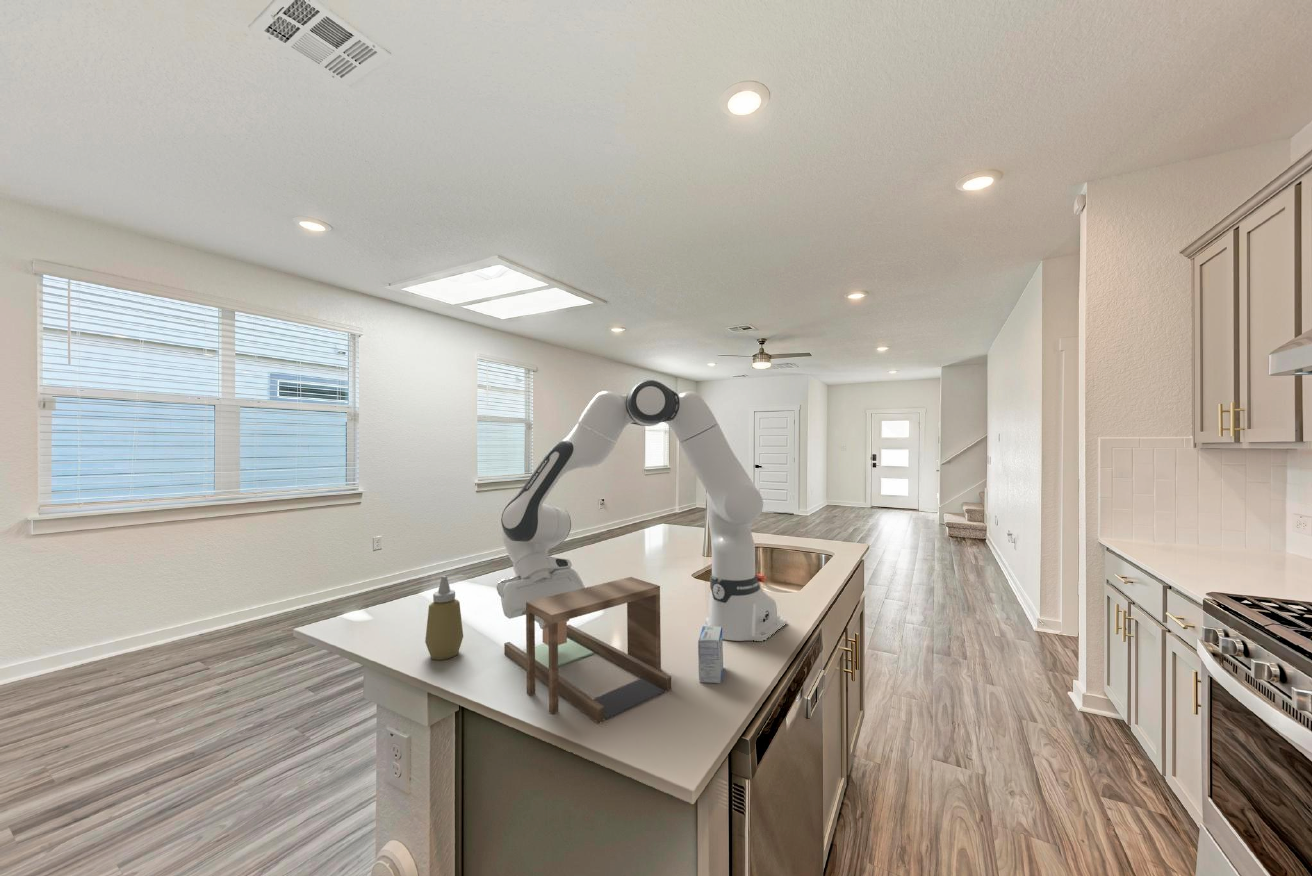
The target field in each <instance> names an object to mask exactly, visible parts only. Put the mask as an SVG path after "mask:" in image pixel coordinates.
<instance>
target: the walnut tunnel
mask: <svg viewBox="0 0 1312 876" xmlns="http://www.w3.org/2000/svg"><path fill="white" fill-rule="evenodd" d="M624 604H626V613H627V615H626V617H627V620H626V622H627V623H626V624H627V625H626V629H627V634H626V635H627V653H626V652H625V651H622V650H620V649H618V648H616V647H614V646H612V645H610V644H608V643H606V642H604V641H602V640H600V639H599V638H597V637H595V636H593V635H591V634H589V633H587V632H585V631H583V630H581V629H580V628H577V627H575V626H573V625H571V624H567V638H568V639H570V640H572V641H574V642H576V643H577V644H579V645H581V646H583V647H585V648H587V649H588V650H590V651H592V652H593V653H596V654H598V655H600V656H602V657H603V658H606V659H607V660H609V661H611V662H613V663H614V664H616V665H618V666H620V667H621V668H624V669H625V670H627V671H629V672H630V673H632V674H634V675H636V676H638V677H640V679H641V678H643V679H645V680H647V681H649V682H650V683H652V684H654V685H656V686H658V687H660V688H661V689H663V690H665V692H669V691H671V690H672V676H671V675H669V674H667V673H665V672H663V671H662V670H661V669H662V657H661V656H662V655H661V654H662V648H661V644H662V643H661V641H662V639H661V638H662V637H661V634H662V633H661V585H658V584H656V583H655V584H654V583H651V582H649V581H645V580H641V579H638V578H635V577H633V576H629V577H624V578H620V579H617V580H612V581H608V582H604V583H601V584H600V583H599V584H595V585H592V586H588V587H585V588H582V589H578V590H574V591H570V592H566V593H561V594H557V595H553V596H549V597H545V598H541V599H536V600H532V601H528V602H526V615H525V626H526V627H525V631H526V633H525V636H526V637H525V641H526V642H525V644H526V646H525V647H526V649H525V650H526V653H525V652H524V651H523V650H522V649H521V648H519V647H518V646H517V645H515V644H513V643H512V642H510V641H508V642H504V646H503V647H504V648H503V650H504V656H506V657H508V658H509V659H510V660H511V661H513V662H514V663H516V664H517V665H518V666H520V667H521V668H522V669H524V670H525V671H526V694H527V695H529V696H532V695H535V694H536V679H537V680H539V681H540V682H542V683H543V684H544V685H545V686H547V687H548V712H549V713H550V712H551V713H550V714H551V715H554V714H557V713H559V696H560V697H562V698H563V699H564V700H566V701H567V702H569V703H570V704H571V705H572V706H574V707H575V706H576V707H575V708H576V709H578V710H580V711H581V712H582V713H583V714H585V715H586V716H588V717H589V718H590V719H592V721H594V722H596V723H597V724H601V723H603V722H605V719H604V706H603V705H601V704H600V703H598V702H597V701H595V700H594V698H592V697H591V696H590V695H588V694H587V693H585V692H584V691H582V690H581V689H579V688H578V687H576V686H575V685H573V684H572V683H571V682H569V681H567V680H566V679H565V678H563V677H562V676H560V675H559V666H558V622H561V621H564V620H568V619H569V620H572V619H576V618H578V617H581V616H586V615H588V614H592V613H596V612H600V611H604V610H606V609H610V608H614V607H617V606H621V605H624ZM535 615H536V616H538V617H539V618H541V619H543V620H545V621H547V622H548V630H549V668H547V667H546V666H544V665H543V664H541V663H540V662H538V661H537V660H535V647H536V638H535V637H536V635H535V634H536V625H535V623H536V621H535ZM600 722H601V723H600Z"/></svg>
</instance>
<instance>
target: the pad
mask: <svg viewBox="0 0 1312 876" xmlns="http://www.w3.org/2000/svg"><path fill="white" fill-rule="evenodd" d="M522 651H524V652H525V653H526V649H524V650H522ZM593 654H594V651H592V650H590V649H589V648H587V647H585V646H583V645H581V644H580V643H578V642H576V641H574V640H572V639H570V638H569V637H567V643H564V644H561V645H558V667H560V666H563V665H566V664H568V663H572V662H575V661H577V660H580V659H583V658H586V657H589V656H591V655H593ZM535 660H537V661H538V662H540V663H541V664H543V665H544V666H546V667H547V668H549V646H548V645H546V644H545V643H543V644H540V645H537V646H536V645H535Z"/></svg>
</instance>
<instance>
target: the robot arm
mask: <svg viewBox="0 0 1312 876" xmlns="http://www.w3.org/2000/svg"><path fill="white" fill-rule="evenodd" d="M660 423H665V424H666V425H668V426H669V427H670V428H671V429H672V431H673V432H674V434H675V436H676V438H677V441H678V442H679V444H680V446H681V448H682V450H683V452H684V454H685V456H686V458H687V461H688V462H689V465H690V466H691V468H692V470H693V471H694V473H695V474H696V477H698V479H699V480H700V482H701V484H702V486H703V488H704V489H705V491H706V495H705V498H706V499H705V500H706V508H707V509H706V511H707V518H708V526H709V534H710V535H709V536H710V544H711V545H710V546H711V573H710V578H709V587H710V590H711V591H710V592H709V597H708V598H709V599H708V600H709V601H708V610H707V616H706V617H705V623H706V626H716V627H722V637H723V640H726V641H736V642H740V641H741V642H742V641H743V642H744V641H753V640H754V641H756V642H764V641H763V640H765V641H766V640H768V639H769V638H770V637H772V636H773V635H774V634H776V633H777V632H778V631H779V630H778V629H779V628H781V627H782V626H784V624H786V623H787V619H785V618H784V617H783V616H781V615H778V609H777V608H778V606H777V603H776V601H775V600H774V598H773V597H771V596H770V595H768V593H766V592H765V591H764V590H763V589H761V586H760V583H762V584H764V583H765V582H766V581H767V576H766V575H765V574H761V573H758V574H756V545H755V541H754V539H753V534H752V529H751V523H753V522H755V521H756V520H757V519H758V518H759V517H760V515H761V514H762V512H763V507H764V501H763V496H762V494H761V493H760V491H759V490H758V488H757V487H756V486H755V484H754V483H753V481H752V479H751V478H750V476H749V475H748V473H747V470H745V468H744V466H743V465H742V463H741V462H740V461H739V459H738V458H737V456H736V454H735V453H734V452H733V449H732V448H731V446H730V444H729V442H728V440H727V438H726V436H725V435H724V432H723V430H722V428H721V427H720V424H719V423H718V421H717V418H716V417H715V415H714V413H713V411H712V410H711V408H710V407H709V405H708V404H707V403H706V401H705V400H704V398H702V396H701V395H700V394H699V393H698V392H696V391H691V390H690V391H689V390H688V391H683V392H680V393H679V394H678V393H677V392H675V391H674V390H672V389H671V388H669V387H668V386H667V385H665V384H664V383H662V382H660V381H658V380H654V379H644V380H641V381H639V382H637V383H636V384H635V385H634V386H633V387H632V388H631V389H630V391H629V392H628V394H623V395H622V394H619V393H617V392H614V391H611V390H602V391H601V390H600V391H599V392H597V394H595V395H594V397H593V398H592V399H591V400H590V402H589V403H588V405H586V407H585V409H584V410H583V412H582V413H581V415H580V417H578V420H577V422H576V424H575V425H574V427H573V429H572V430H571V431H570V432H569V434H567V436H566V437H564V438H563V439H562V440H561V441H558V442H556V444H554V445H553V446H552V447H551V448H550V450H549V451H548V452H547V454H545V456H544V457H543V459H542V460H541V461H540V463H539V464H538V466H537V467H536V469H535V470H534V471H533V472H532V474H531V475H530V477H529V478H528V480H527V481H526V483H525V484H524V486H522V488H521V489H520V491H519V492H518V493H517V494H516V495H515V496H514V497H513V498H512V499H511V501H509V502H508V504H507V505H506V506H505V508H503V509H504V510H503V512H502V514H501V520H500V521H501V522H500V523H501V528H502V531H501V533H502V541H503V543H504V544H503V545H504V548H505V550H506V552H507V553H506V554H507V555H508V558H510V560H511V561H512V567H513V568H512V569H513V571H514V574H515V576H512V577H508V578H502V579H500V581H499V582H498V583H497V584H496V591H497V594H498V595H499V596H500V601H501V607H502V611H503V614H504V616H505V617H506V618H507V619H510V620H511V619H514V618H518V617H521V616H526V602H528V601H532V600H536V599H541V598H545V597H549V596H553V595H557V594H561V593H566V592H570V591H574V590H578V589H582V588H586V587H585V585H584V583H583V581H582V579H581V577H580V575H579V574H578V572H577V571H576V570H575V569H574V568H572V565H573V564H572V561H571V560H570V559H567V558H559V557H554V556H549V554H548V551H549V550H553V549H554V548H555V547H558V546H559V545H560V544H561V543H563V542H564V541H565V540H566V539H567V538H568V536H569V535H570V533H571V529H572V519H571V516H570V514H569V512H568V511H567V510H566V509H565V508H562V507H559V506H555V505H551V504H546V503H544V502H545V501H546V500H547V498H548V497H549V495H550V493H551V491H553V489H554V488H555V486H556V484H557V483H558V482H559V480H560V479H561V478H562V477H563V476H565V475H566V474H567V473H568V472H571V471H574V470H579V469H585V468H593V467H597V466H598V465H601V464H604V462H605V461H606V460H607V458H609V457H610V455H611V453H612V451H613V450H614V448H615V446H616V443H617V442H618V440H619V438H620V436H621V434H622V433H623V430H624V429H625V428H626V427H627V426H628V425H630V424H632V425H637V426H641V427H652V426H653V427H654V426H657V425H659V424H660ZM759 582H760V583H759ZM569 621H570V619H568V620H567V623H568V622H569ZM535 623H538V626H539V628H540V629H541V630H543V628H547V627H548V622H547V621H545V620H543V619H541V618H539V617H538V616H536V615H535ZM787 624H788V623H787ZM787 624H786V625H787ZM784 627H785V626H784ZM782 628H783V627H782ZM782 628H781V629H782ZM777 630H778V631H777ZM776 631H777V632H776ZM775 632H776V633H775ZM773 633H774V634H773ZM772 634H773V635H772ZM771 635H772V636H771ZM768 637H769V638H768ZM767 638H768V639H767Z"/></svg>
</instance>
